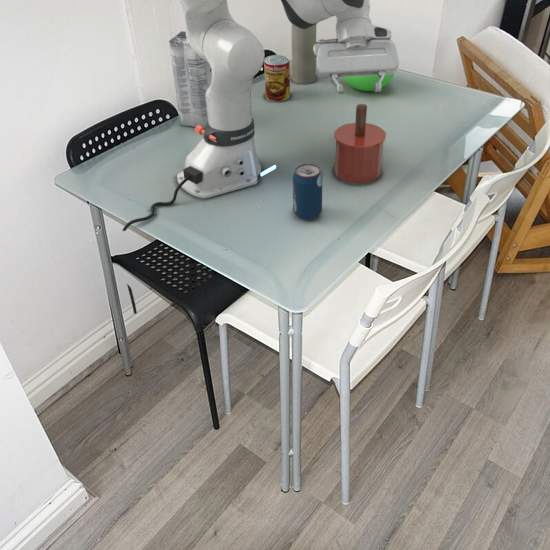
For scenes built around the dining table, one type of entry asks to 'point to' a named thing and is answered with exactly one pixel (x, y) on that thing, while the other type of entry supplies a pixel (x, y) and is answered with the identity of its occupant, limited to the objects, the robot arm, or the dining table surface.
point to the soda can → (307, 191)
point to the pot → (358, 163)
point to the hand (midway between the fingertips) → (359, 92)
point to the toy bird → (367, 81)
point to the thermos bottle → (303, 54)
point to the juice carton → (190, 81)
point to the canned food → (277, 77)
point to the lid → (360, 132)
